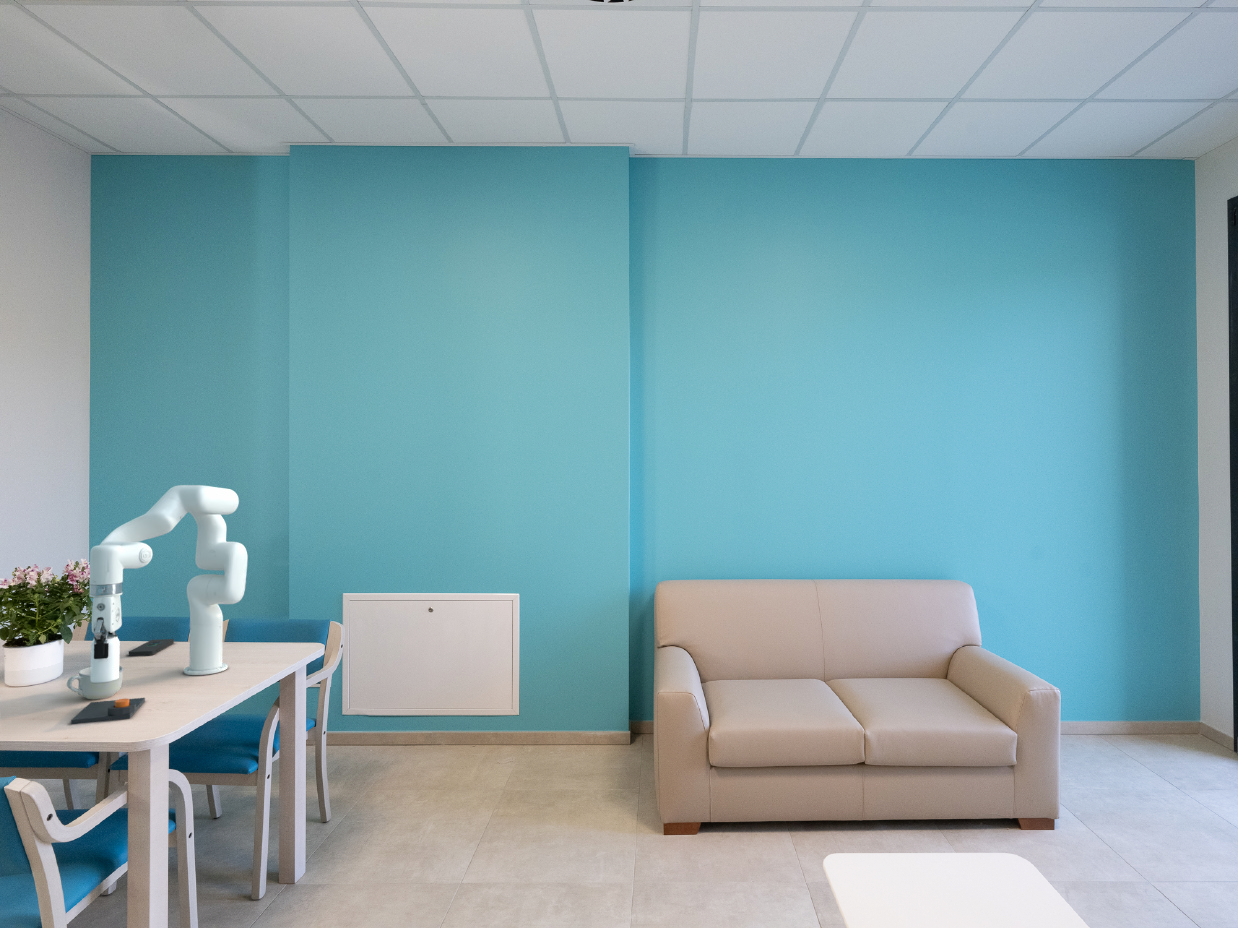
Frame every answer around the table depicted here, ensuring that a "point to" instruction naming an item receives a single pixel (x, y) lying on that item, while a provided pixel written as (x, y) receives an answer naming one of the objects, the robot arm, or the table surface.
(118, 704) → the button
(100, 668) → the can
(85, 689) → the teacup
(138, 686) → the table surface
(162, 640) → the smart home device
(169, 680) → the table surface
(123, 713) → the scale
